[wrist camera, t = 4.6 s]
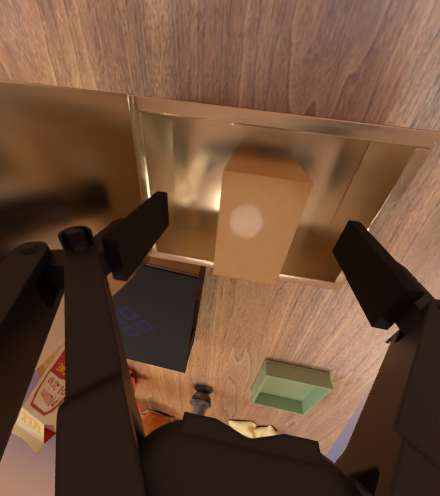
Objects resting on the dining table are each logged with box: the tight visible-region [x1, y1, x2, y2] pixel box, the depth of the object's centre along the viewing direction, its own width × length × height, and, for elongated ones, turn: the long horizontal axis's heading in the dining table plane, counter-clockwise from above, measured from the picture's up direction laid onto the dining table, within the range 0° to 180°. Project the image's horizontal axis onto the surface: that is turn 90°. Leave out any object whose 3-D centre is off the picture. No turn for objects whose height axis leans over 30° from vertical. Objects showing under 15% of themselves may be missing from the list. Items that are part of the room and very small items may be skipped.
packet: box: [213, 145, 313, 286], centre depth 17 cm, size 5×8×10 cm, turn 174°
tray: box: [251, 360, 333, 415], centre depth 45 cm, size 13×16×3 cm
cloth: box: [229, 420, 277, 438], centre depth 68 cm, size 22×19×6 cm
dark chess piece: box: [190, 385, 212, 416], centre depth 52 cm, size 6×6×12 cm
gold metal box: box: [127, 94, 440, 290], centre depth 19 cm, size 20×14×7 cm
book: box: [112, 257, 206, 373], centre depth 33 cm, size 17×25×7 cm
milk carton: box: [11, 344, 65, 454], centre depth 39 cm, size 9×9×20 cm
